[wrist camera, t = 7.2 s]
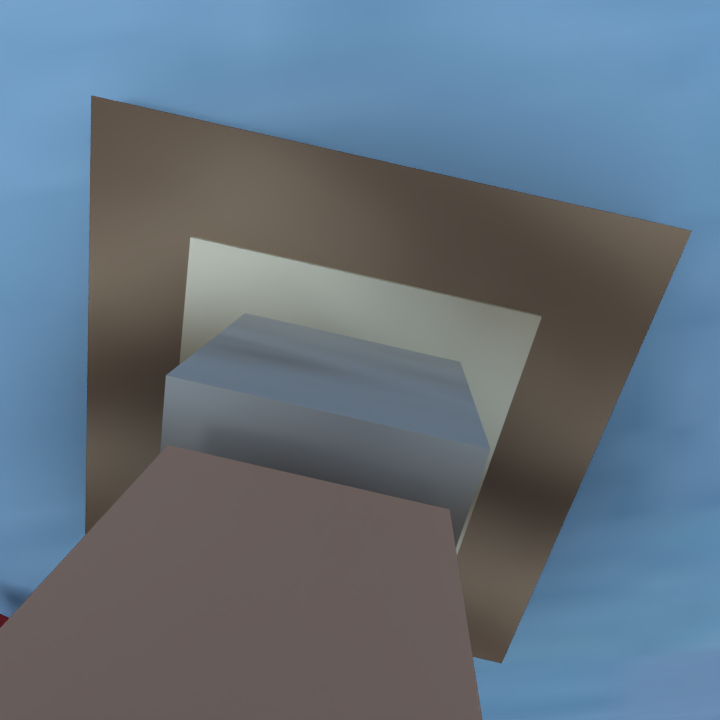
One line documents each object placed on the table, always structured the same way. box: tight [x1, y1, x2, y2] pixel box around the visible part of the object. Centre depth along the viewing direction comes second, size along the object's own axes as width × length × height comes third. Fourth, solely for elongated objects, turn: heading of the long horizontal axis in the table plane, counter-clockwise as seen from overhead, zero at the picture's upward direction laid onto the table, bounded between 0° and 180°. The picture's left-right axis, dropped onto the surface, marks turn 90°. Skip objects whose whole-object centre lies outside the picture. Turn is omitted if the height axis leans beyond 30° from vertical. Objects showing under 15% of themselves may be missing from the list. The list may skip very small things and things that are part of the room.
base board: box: [85, 96, 691, 663], centre depth 13 cm, size 16×16×7 cm
